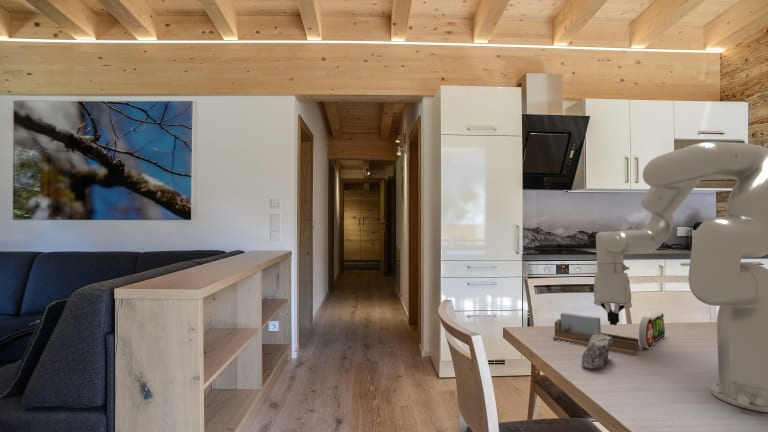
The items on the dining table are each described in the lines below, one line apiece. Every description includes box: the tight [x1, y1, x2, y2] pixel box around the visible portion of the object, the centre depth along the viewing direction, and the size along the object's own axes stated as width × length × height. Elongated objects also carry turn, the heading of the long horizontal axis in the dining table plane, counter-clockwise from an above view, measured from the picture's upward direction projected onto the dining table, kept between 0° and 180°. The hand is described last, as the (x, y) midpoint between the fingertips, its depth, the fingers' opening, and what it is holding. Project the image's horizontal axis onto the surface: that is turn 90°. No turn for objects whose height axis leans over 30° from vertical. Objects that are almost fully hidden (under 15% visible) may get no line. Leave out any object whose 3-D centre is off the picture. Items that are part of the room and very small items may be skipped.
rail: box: [553, 318, 640, 357], centre depth 122 cm, size 9×24×6 cm, turn 49°
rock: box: [581, 332, 613, 369], centre depth 104 cm, size 16×8×10 cm, turn 128°
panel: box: [560, 312, 602, 335], centre depth 125 cm, size 2×12×8 cm, turn 47°
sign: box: [638, 311, 666, 350], centre depth 122 cm, size 22×2×10 cm, turn 129°
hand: (613, 324), depth 118 cm, fingers closed
